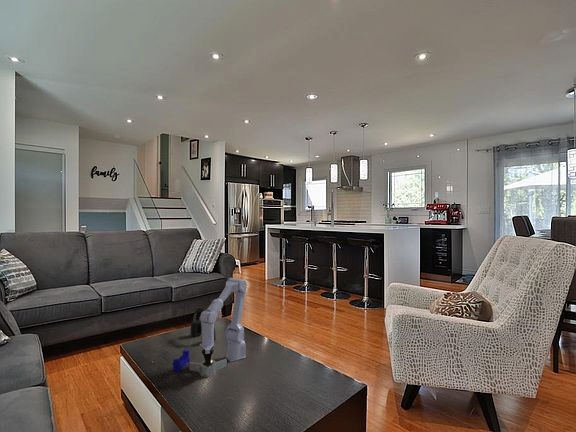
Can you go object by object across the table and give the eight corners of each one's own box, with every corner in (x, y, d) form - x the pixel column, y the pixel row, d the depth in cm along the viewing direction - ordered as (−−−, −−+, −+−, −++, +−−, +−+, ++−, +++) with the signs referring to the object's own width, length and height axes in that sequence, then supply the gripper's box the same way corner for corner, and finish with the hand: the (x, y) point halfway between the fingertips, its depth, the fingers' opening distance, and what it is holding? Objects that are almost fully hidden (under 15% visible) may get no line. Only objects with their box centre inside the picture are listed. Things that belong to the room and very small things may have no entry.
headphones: (189, 335, 205) (189, 305, 205) (197, 333, 209) (197, 303, 209) (208, 345, 190) (208, 312, 190) (216, 342, 194) (216, 310, 194)
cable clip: (181, 360, 170) (181, 349, 170) (189, 361, 169) (189, 350, 169) (170, 371, 158) (170, 359, 158) (178, 372, 157) (178, 360, 157)
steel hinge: (222, 361, 168) (222, 352, 168) (230, 370, 158) (230, 361, 158) (189, 369, 159) (189, 360, 159) (196, 380, 149) (196, 370, 149)
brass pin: (211, 363, 158) (211, 348, 158) (213, 366, 155) (213, 351, 155) (203, 365, 157) (203, 349, 157) (205, 368, 153) (205, 352, 153)
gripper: (200, 330, 162) (200, 356, 162) (198, 341, 148) (198, 369, 148) (214, 329, 163) (214, 354, 163) (214, 340, 149) (214, 368, 149)
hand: (208, 361), depth 156 cm, fingers closed on brass pin, 4 cm apart
